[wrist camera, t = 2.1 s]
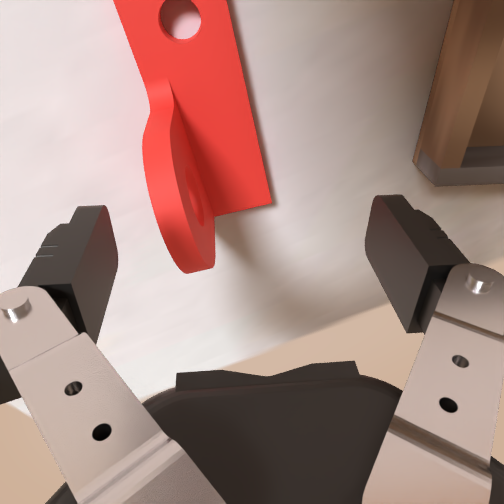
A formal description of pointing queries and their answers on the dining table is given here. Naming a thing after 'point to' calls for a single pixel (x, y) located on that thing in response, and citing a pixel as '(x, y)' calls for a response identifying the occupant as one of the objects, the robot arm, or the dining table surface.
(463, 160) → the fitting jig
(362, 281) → the dining table surface
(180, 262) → the bracket
